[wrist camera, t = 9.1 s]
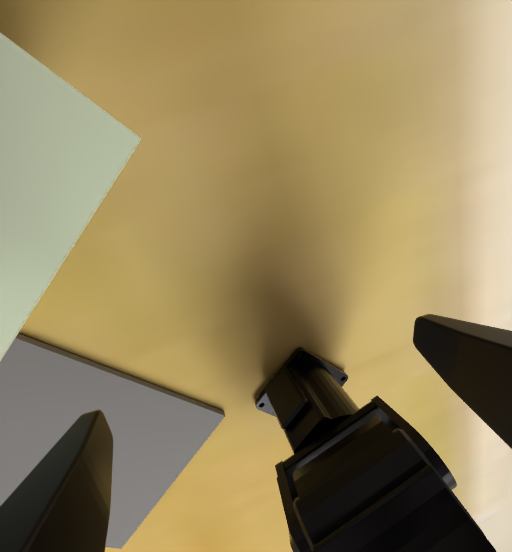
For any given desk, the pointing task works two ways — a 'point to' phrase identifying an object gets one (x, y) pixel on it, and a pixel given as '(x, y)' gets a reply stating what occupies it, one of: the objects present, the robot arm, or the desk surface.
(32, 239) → the lid
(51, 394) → the mat
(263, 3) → the desk surface
